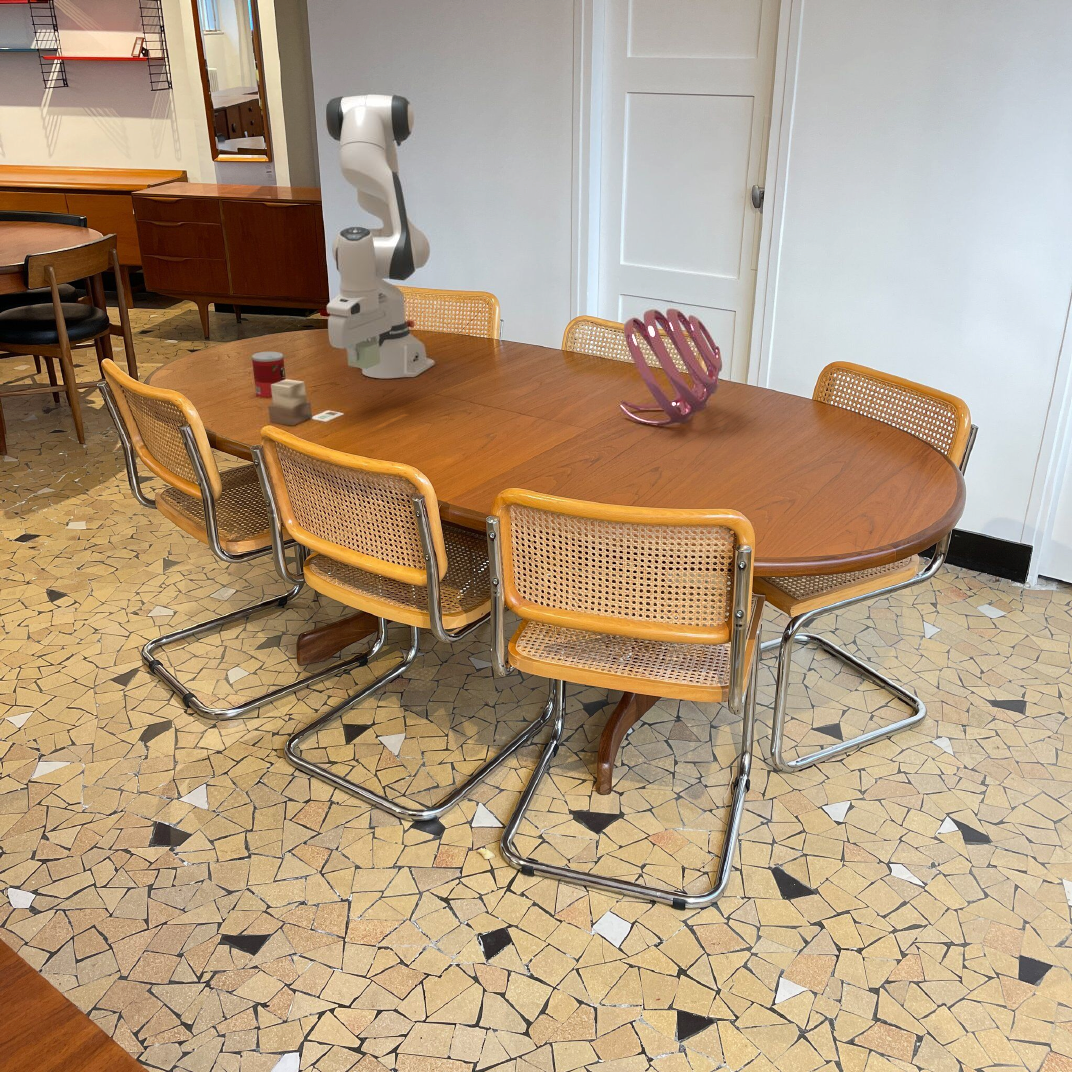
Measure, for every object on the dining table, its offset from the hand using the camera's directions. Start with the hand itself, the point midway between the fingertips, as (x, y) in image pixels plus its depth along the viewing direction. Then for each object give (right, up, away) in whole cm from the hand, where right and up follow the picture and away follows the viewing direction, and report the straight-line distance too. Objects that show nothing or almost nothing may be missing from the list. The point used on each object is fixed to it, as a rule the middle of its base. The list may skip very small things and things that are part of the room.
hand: (363, 357), depth 243 cm
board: (-16, -15, 0) cm, 22 cm away
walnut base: (-17, -15, -2) cm, 23 cm away
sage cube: (0, -2, +1) cm, 2 cm away
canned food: (-27, -7, +18) cm, 33 cm away
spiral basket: (+74, -15, +4) cm, 76 cm away
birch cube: (-17, -12, -4) cm, 21 cm away
